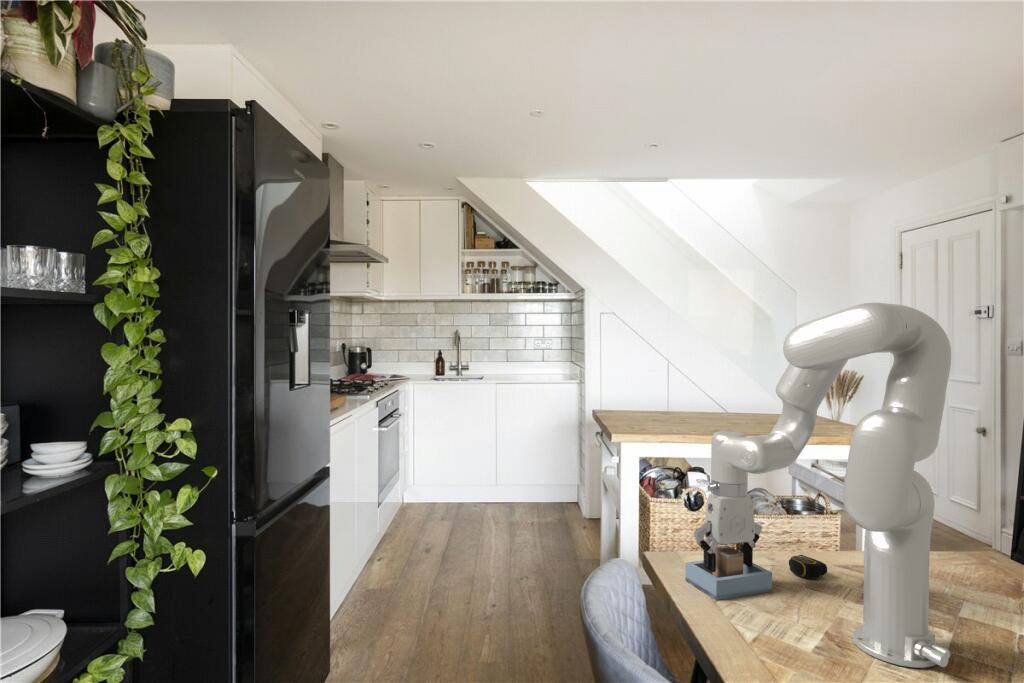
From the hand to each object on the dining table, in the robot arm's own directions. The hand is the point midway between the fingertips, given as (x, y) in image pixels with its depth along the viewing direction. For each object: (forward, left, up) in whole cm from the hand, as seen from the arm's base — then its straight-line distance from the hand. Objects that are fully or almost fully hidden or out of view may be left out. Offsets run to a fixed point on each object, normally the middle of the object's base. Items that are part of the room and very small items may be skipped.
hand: (728, 567), depth 128 cm
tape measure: (0, -22, -4) cm, 22 cm away
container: (0, 0, -4) cm, 4 cm away
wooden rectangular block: (0, 0, -3) cm, 3 cm away
